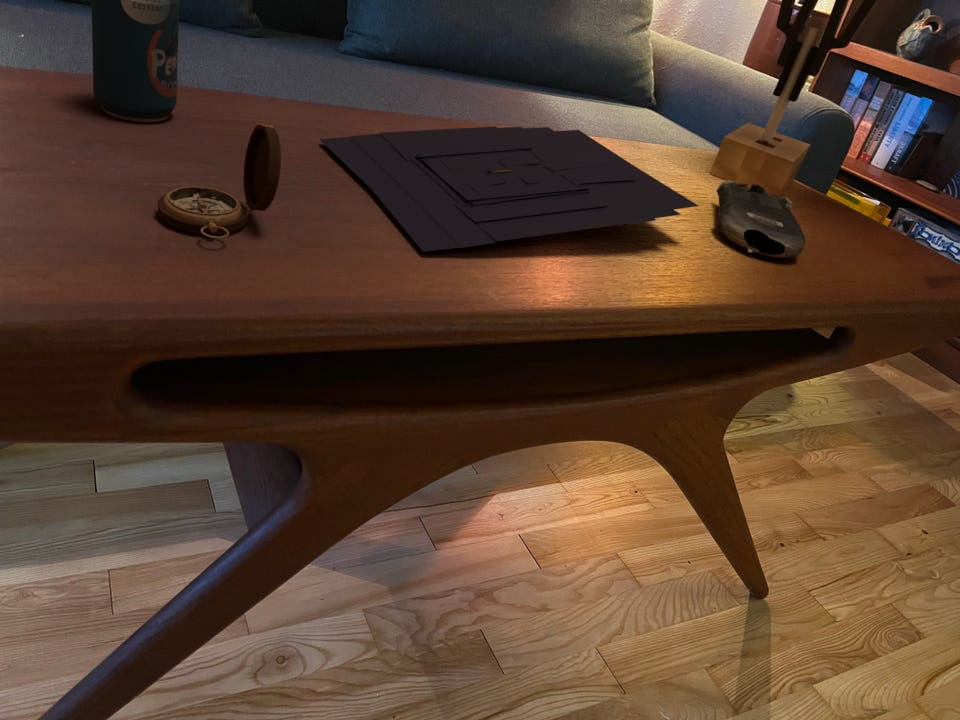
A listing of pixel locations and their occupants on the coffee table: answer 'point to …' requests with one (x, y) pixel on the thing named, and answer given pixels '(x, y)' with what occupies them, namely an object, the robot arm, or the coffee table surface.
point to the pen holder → (759, 159)
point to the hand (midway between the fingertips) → (784, 97)
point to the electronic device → (758, 220)
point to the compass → (220, 209)
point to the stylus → (789, 85)
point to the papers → (502, 183)
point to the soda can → (135, 57)
